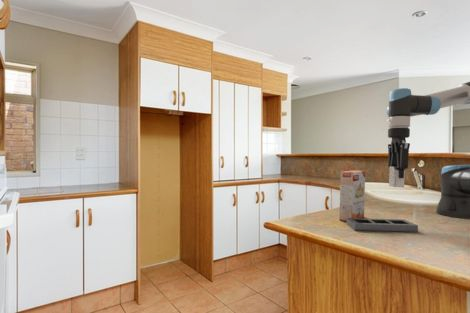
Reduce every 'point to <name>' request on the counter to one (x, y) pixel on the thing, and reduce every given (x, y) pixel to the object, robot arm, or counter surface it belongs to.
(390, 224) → the grey compartment tray
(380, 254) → the counter surface
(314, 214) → the counter surface
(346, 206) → the cracker box
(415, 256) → the counter surface
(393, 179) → the block
